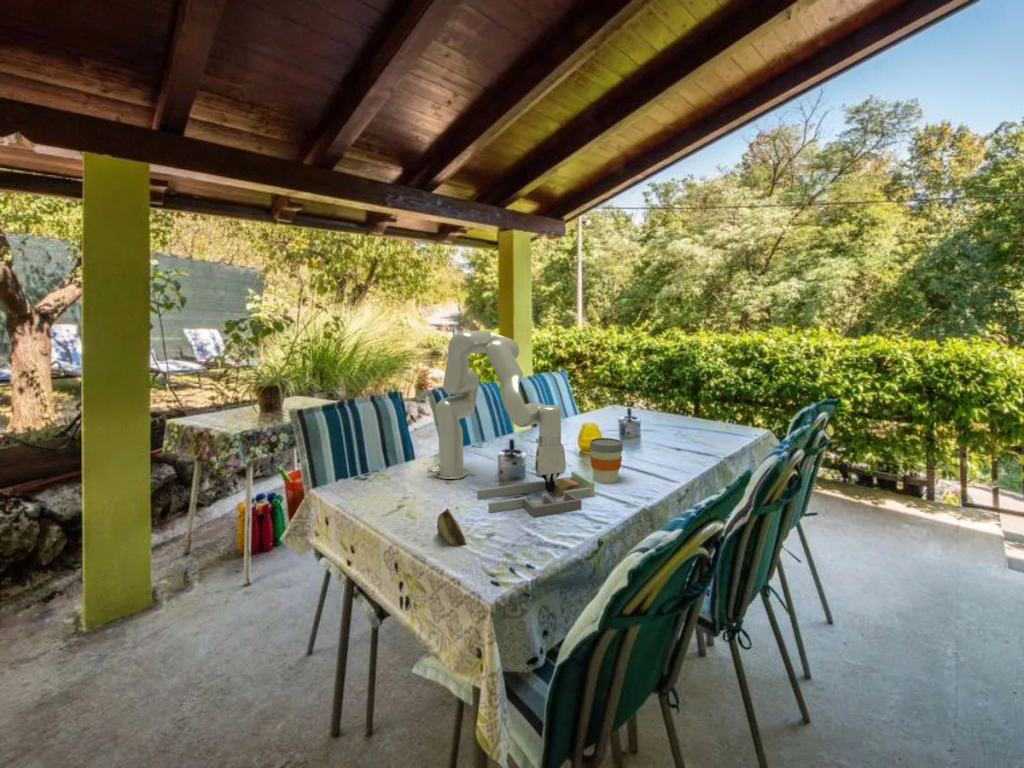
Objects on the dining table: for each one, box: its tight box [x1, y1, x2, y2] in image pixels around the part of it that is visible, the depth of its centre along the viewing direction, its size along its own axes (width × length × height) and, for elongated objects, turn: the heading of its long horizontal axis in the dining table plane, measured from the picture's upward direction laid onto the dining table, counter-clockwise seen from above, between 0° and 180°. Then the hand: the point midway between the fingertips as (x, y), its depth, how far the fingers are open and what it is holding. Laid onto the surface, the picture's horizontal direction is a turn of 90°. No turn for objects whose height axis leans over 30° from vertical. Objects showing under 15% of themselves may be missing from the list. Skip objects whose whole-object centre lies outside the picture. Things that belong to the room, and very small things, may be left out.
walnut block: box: [552, 477, 579, 498], centre depth 170 cm, size 8×8×4 cm
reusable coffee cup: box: [589, 437, 624, 484], centre depth 183 cm, size 13×13×15 cm
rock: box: [436, 507, 467, 546], centre depth 134 cm, size 11×9×10 cm
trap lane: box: [476, 470, 595, 518], centre depth 161 cm, size 38×22×5 cm, turn 111°
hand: (549, 491), depth 167 cm, fingers closed
